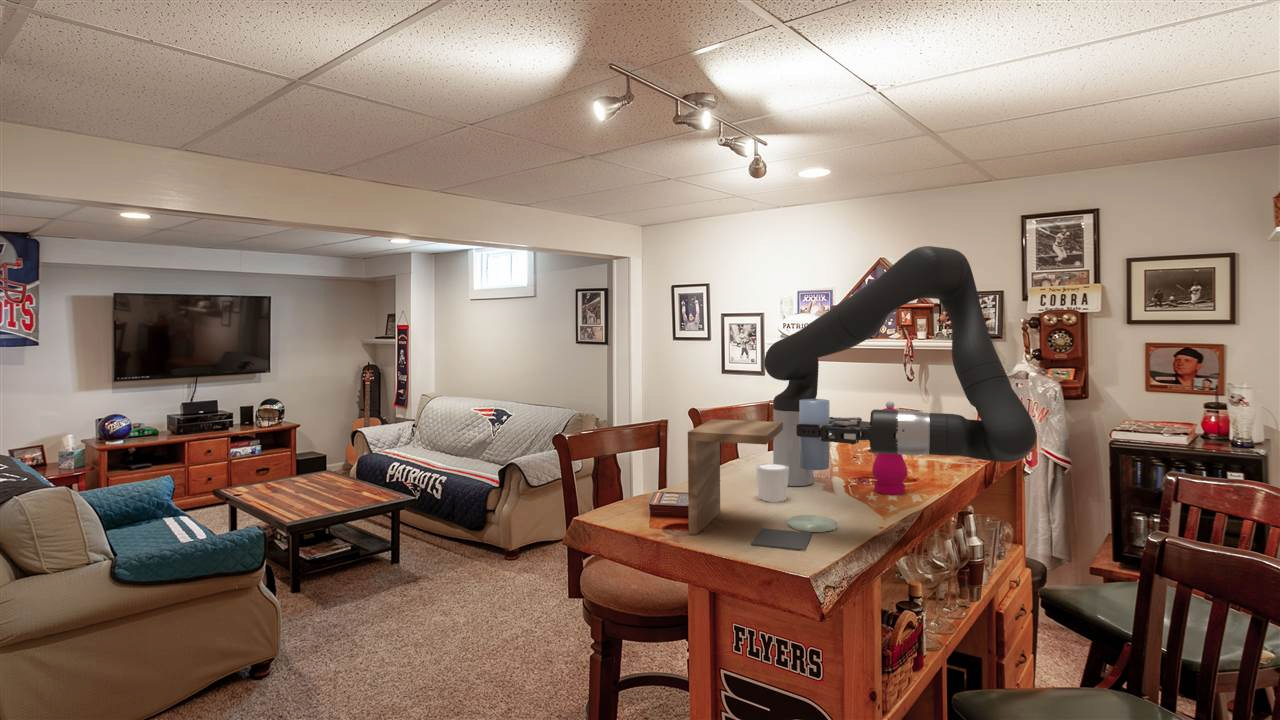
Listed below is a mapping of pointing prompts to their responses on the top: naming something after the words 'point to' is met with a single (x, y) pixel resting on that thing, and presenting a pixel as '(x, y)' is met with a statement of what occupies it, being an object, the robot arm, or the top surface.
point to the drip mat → (782, 539)
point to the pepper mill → (889, 470)
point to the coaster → (812, 523)
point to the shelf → (716, 462)
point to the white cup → (772, 482)
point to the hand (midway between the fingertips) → (799, 427)
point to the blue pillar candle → (812, 448)
